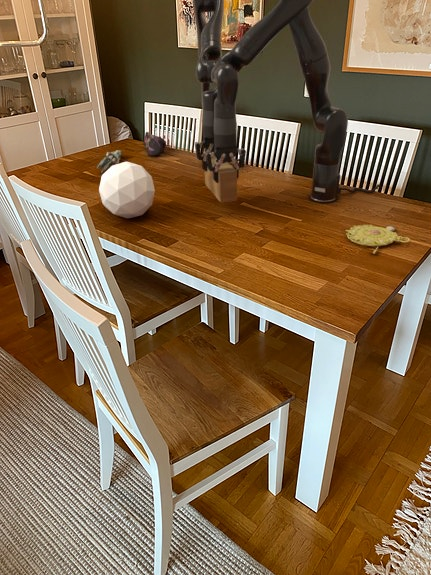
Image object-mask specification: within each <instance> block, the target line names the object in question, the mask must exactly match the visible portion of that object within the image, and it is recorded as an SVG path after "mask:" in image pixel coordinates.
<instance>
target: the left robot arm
mask: <svg viewBox="0 0 431 575" xmlns="http://www.w3.org/2000/svg"><path fill="white" fill-rule="evenodd" d="M192 5H193V13H194V20H195V27H196V39H197V57H198V60H197V62H196V67H195V77H196V80H197V81H198V82H199V83H200V87H201V88H200V89H201V91H200V92H201V107H202V109H201V110H202V113H201V114H202V116H201V119H202V120H201V123H202V139H201V140H202V141H199V142H198V141H195V142H194V148H195V154H196V159H198V160H199V161H201V168H202V169H203V171H204V170H205V171H207V162H206V156H205V153H206V152H208V153H209V152H213V151H214V130H213V129H214V101H215V99H216V98H217V86H216V85H215V87H213V88H212V89H210V87H211V85H212V84H214V83H213V82H212V80H211V71H212V69H213V67H214V66H215V64H216V63H217V62H218V61H219V60H220V59H221V58H222V57H223V51H222V50H223V48H222V28H223V19H224V11H225V10H224V9H225V0H192ZM205 13H212V15H211V16H210V18H209V20H208V21H207V20H206V17H205ZM203 147H204V149H203V153H202V152H201V149H202V148H203ZM235 160H236V162H237V163H239V158H238V159H235ZM228 163H229V164H230V162H228ZM205 171H204V172H205Z"/></svg>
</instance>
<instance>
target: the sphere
mask: <svg viewBox="0 0 431 575" xmlns="http://www.w3.org/2000/svg"><path fill="white" fill-rule="evenodd" d="M98 192H99V196H100V199H101V203H102V205H103V206H104V207H105V208H106V210H108V211H109V212H111V213H112V215H114V216H117V217H121V218H125V219H128V220H129V219H132V218H136V217H140V216H143V215H144V214H145V213H146V212H147V211H148V210H149V209H150V208H151V207H152V206H153V203H154V198H155V192H156V190H155V186H154V181H153V176H152V175H151V174H150V173H149V172H148V171H147V170H146V169H145V168H144V166H142V165H140V164H137V163H134V162H130V161H127V160H126V161H123V162H119V163H118V164H112V165H111V166H110V167H109V168H108V169H107V170H106V171H104V173H102V174H101V178H100V183H99V188H98Z"/></svg>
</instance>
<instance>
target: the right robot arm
mask: <svg viewBox="0 0 431 575" xmlns="http://www.w3.org/2000/svg"><path fill="white" fill-rule="evenodd" d="M314 1H315V0H279V1H278V3H277V4H275V6H274V7H273V8H272V9H271V10H270V11H269V12H268V13H266V15H264V16H263V17H262V18H260V19H259V20H258V21H257V22H255V24H252V26H251V27H250V28H249V29H248V30H247V31H245V33H244V34H243V35H242V37H240V39H238V41H237V42H236V44H235V45H234V46H233V48H232V49H230V50H229V51H228V52H226V53H225V54H224V55H222V58H221V59H220V60H219V61H218V62H217V63H216V64H215V66H214V67H213V69H212V71H211V80H212V82H213V83H212V84H213V85H214V86H215V87H216V86H217V98H216V99H215V101H214V129H213V130H214V151H213V152H209V153H208V152H206V153H205V156H206V162H207V168H208V169H209V170H210V171H213V179H214V181H215V182H216V183H218V182H219V180H218V170H219V167H220V166H221V164H222V163H226V162H229V163H230V164H232V167H233V168H234V169H235V170H237V180H238V179H239V178H240V176H239V174H240V173H239V172H240V169H241V168H244V167H245V163H246V155H247V150H245V149H244V148H243V147H241V148H238V124H237V103H236V102H237V98H238V92H239V85H240V84H239V83H240V78H239V72H240V71H241V70H243V69H244V68H246V67H249V66H250V65H251V64H252V63H253V62H254V61H255V60H256V59H257V58H258V57H259V55H260V54H261V53H262V52H263V51H264V50H265V48H266V47H267V46H269V44H270V43H271V42H272V40H273V39H275V37H276V36H277V35H279V33H280V32H281V31H282V30H283V29H284V28H285V27H286V26H289V30H290V33H291V37H292V41H293V45H294V48H295V52H296V56H297V59H298V64H299V67H300V71H301V75H302V77H303V80H304V84H305V89H306V92H307V95H308V99H309V104H310V110H311V116H312V121H313V126H314V128H315V129H316V130H317V131H318V132H320V133H321V134H323V139H322V142H321V143H318V144H316V146H315V150H314V158H313V172H312V182H311V192H310V199H311V200H312V201H314V202H317V203H332V202H334V201H336V200H338V197H339V195H341V193H342V191H346V192H349V193H354V192H355V191H360V192H364V193H373V192H375V191H376V190H378V188H379V189H381V188H382V185H380V184H378V183H377V185H376V186H374V188H373V189H370V190H368V189H365V188H361V187H354V188H352V189H350V188H347V187H342V186H340V183H341V182H340V181H341V174H340V173H339V171H340V163H341V154H342V150H343V148H344V146H345V142H346V137H347V131H348V126H349V116H348V114H347V112H346V111H345V110H344V109H342V108H339V107H336V106H333V104H332V101H331V97H330V94H329V88H328V87H329V81H330V76H331V61H330V58H329V53H328V49H327V46H326V44H325V41H324V39H323V37H322V35H321V34H320V32H319V30H318V29H317V26H315V24H314V22H313V20H312V17H311V12H310V10H309V7H310V6H311V5H312V4H313V2H314ZM237 154H238V156H239V158H238V159H239V161H238V162H236V160H237V159H236V156H237ZM213 155H215V157H216V160H215V164H214V166H213V167H212V161H211V159H212V158H213Z"/></svg>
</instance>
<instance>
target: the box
mask: <svg viewBox="0 0 431 575" xmlns="http://www.w3.org/2000/svg"><path fill="white" fill-rule="evenodd" d="M215 160H216V157H215V155H213V158H212V159H211V161H212V167H213V166H214V164H215ZM203 171H204V185H205V186H206V187H207V188H208V190H210V192H211V193H212V194H213V195H214V197H215V198H216V199H217V200H218V202H219V203H221V204H222V203H228V202H235V201H238V179H237V170H235V169H234V166H233V165H231V163H230V162H229V163H228V162H226V163H222V164H221V166H220V167H219V170H218V180H219V182H218V183H216V182H215V181H214V179H213V171H210V170H209V169H208V168H207V171H205V170H204V169H203Z"/></svg>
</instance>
